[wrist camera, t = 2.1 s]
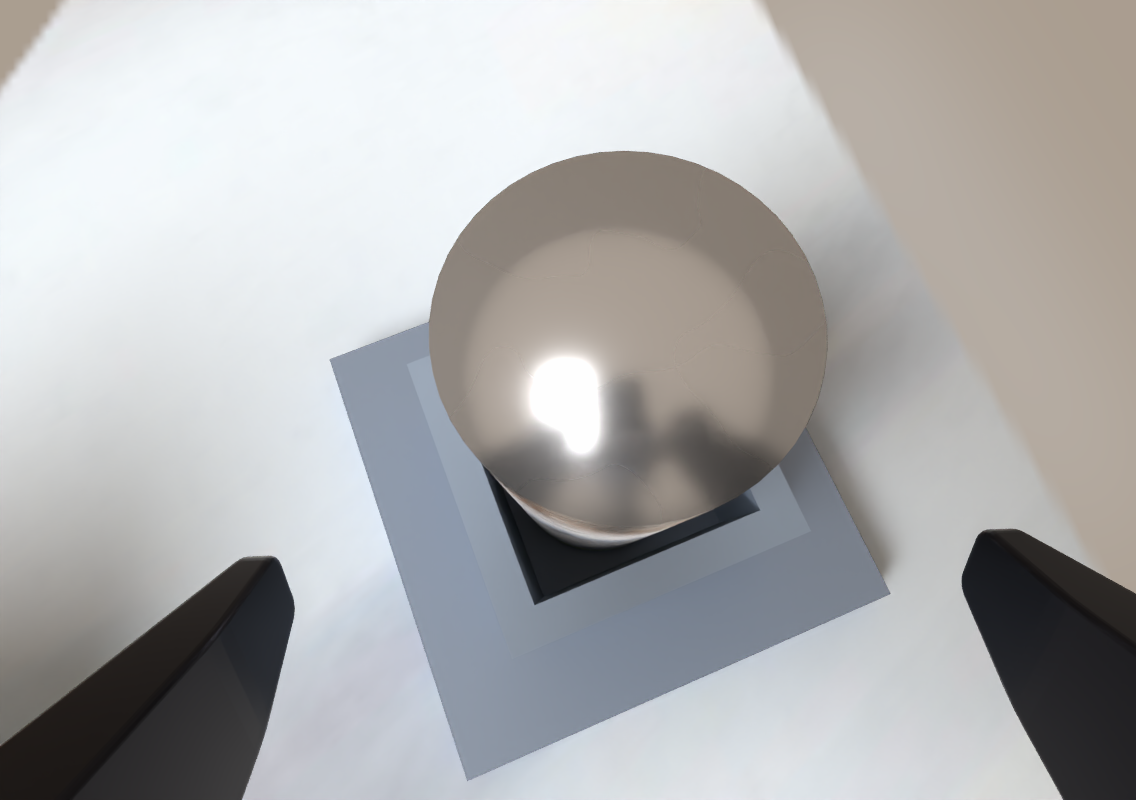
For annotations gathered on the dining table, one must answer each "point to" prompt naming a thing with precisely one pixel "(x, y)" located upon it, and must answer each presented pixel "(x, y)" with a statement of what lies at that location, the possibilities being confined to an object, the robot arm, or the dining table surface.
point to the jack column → (626, 343)
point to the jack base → (581, 573)
